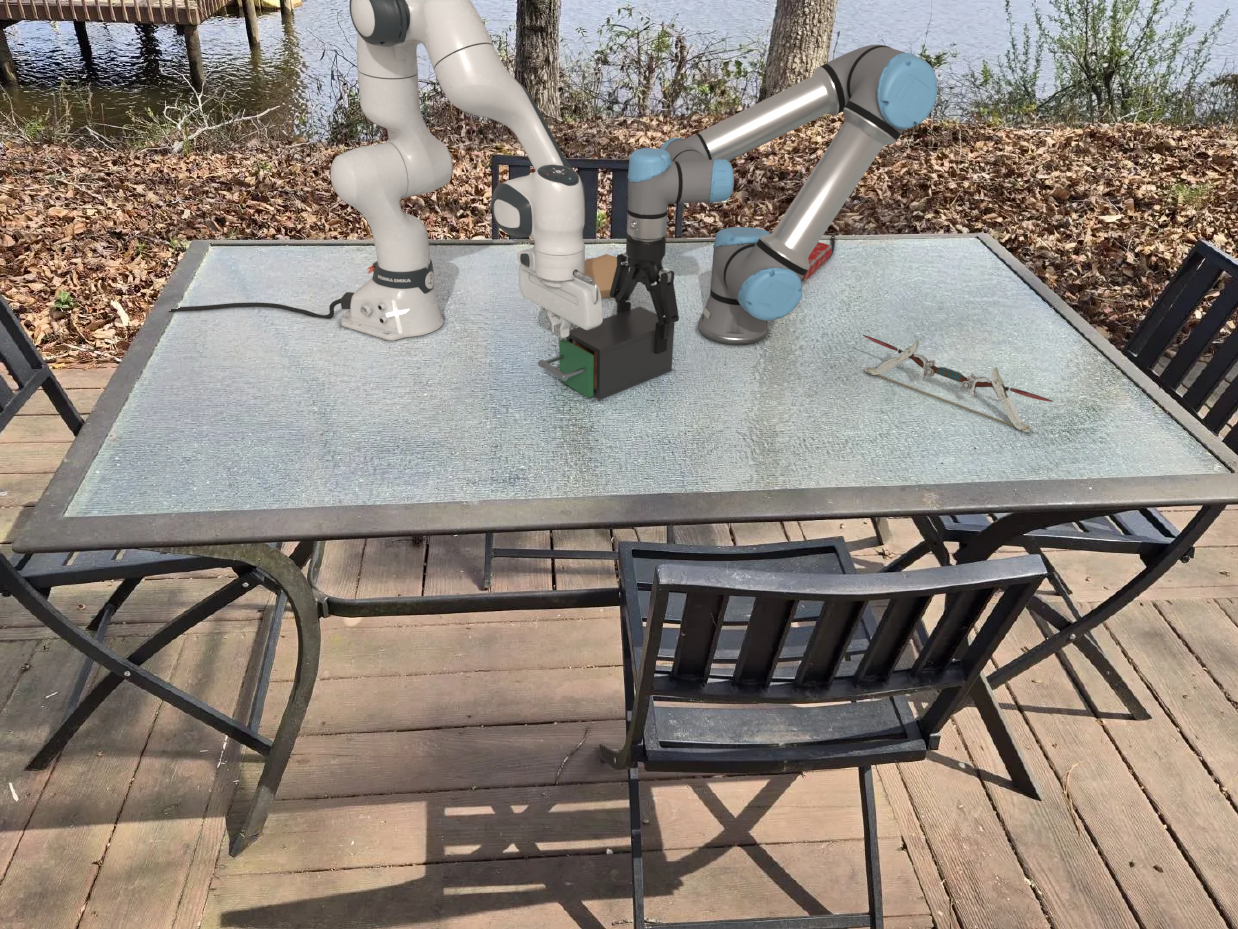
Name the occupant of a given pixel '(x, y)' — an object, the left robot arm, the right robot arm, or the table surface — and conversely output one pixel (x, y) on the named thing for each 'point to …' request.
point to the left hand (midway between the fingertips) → (560, 334)
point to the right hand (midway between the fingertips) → (641, 342)
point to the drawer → (575, 367)
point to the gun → (817, 258)
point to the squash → (602, 272)
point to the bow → (967, 383)
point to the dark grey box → (625, 350)
